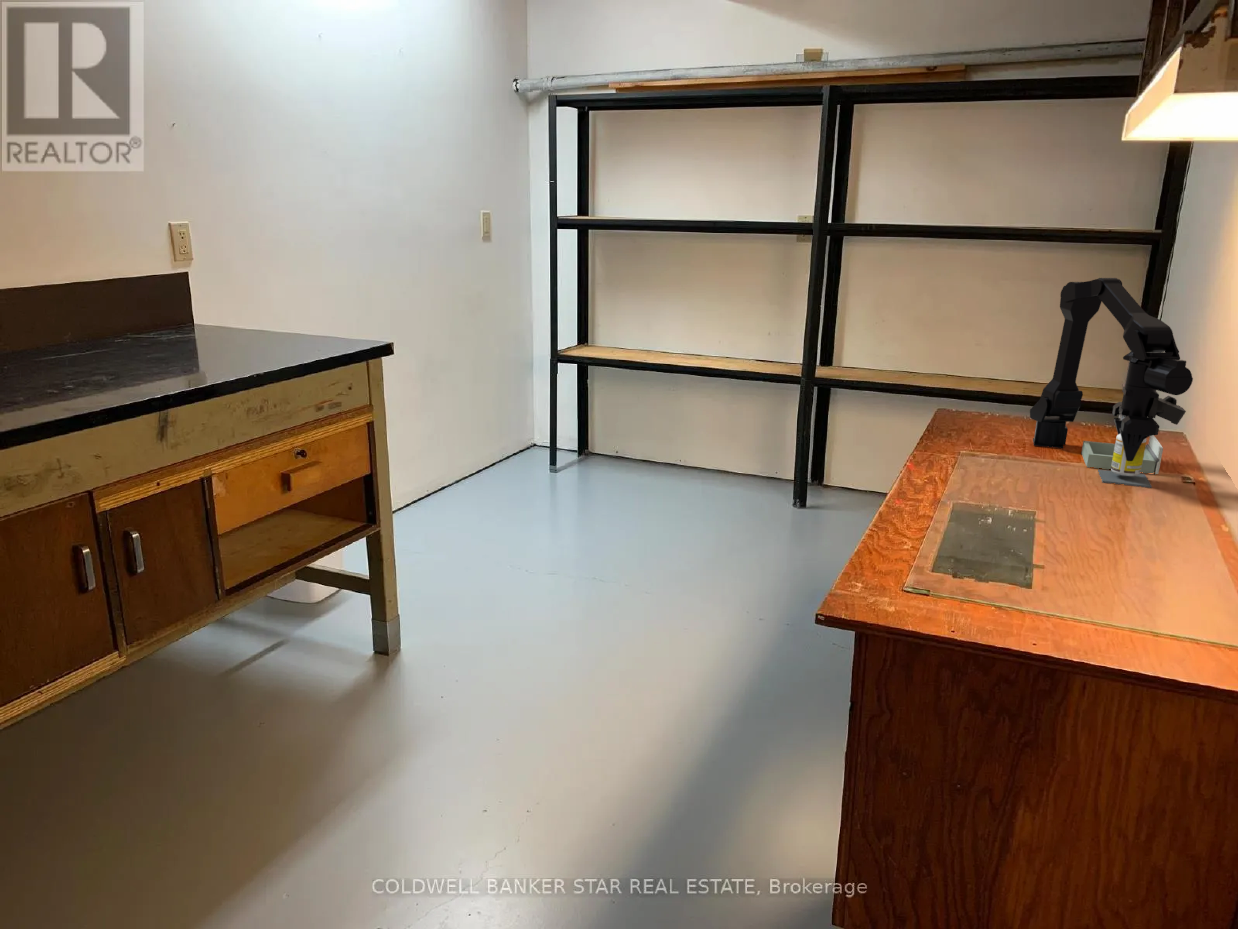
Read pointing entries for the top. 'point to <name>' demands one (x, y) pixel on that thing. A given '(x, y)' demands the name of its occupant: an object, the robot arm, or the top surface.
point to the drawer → (1103, 452)
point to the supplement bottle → (1122, 464)
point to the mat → (1124, 479)
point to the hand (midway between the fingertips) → (1127, 457)
